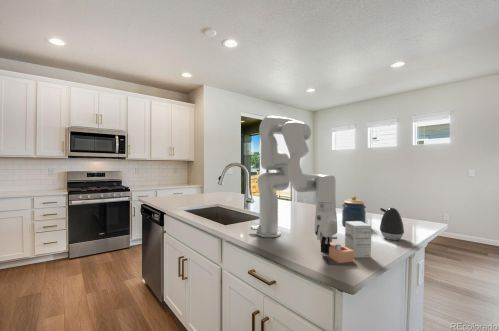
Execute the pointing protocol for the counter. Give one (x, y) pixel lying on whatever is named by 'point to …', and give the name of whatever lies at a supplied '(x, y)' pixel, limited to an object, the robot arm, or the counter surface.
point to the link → (341, 254)
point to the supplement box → (358, 238)
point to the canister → (353, 210)
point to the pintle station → (332, 262)
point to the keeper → (333, 237)
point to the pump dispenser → (391, 224)
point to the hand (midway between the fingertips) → (325, 252)
